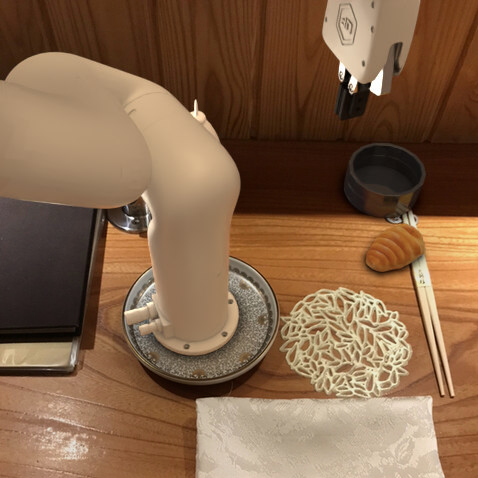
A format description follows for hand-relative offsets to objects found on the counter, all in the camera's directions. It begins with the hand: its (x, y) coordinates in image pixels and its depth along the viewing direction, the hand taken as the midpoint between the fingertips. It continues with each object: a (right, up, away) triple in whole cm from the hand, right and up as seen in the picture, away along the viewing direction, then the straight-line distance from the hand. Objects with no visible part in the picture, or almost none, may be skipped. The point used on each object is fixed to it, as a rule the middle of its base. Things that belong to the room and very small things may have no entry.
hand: (348, 113), depth 66 cm
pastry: (+11, -14, +21) cm, 28 cm away
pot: (+11, -3, +28) cm, 31 cm away
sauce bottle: (-19, +1, +19) cm, 27 cm away
